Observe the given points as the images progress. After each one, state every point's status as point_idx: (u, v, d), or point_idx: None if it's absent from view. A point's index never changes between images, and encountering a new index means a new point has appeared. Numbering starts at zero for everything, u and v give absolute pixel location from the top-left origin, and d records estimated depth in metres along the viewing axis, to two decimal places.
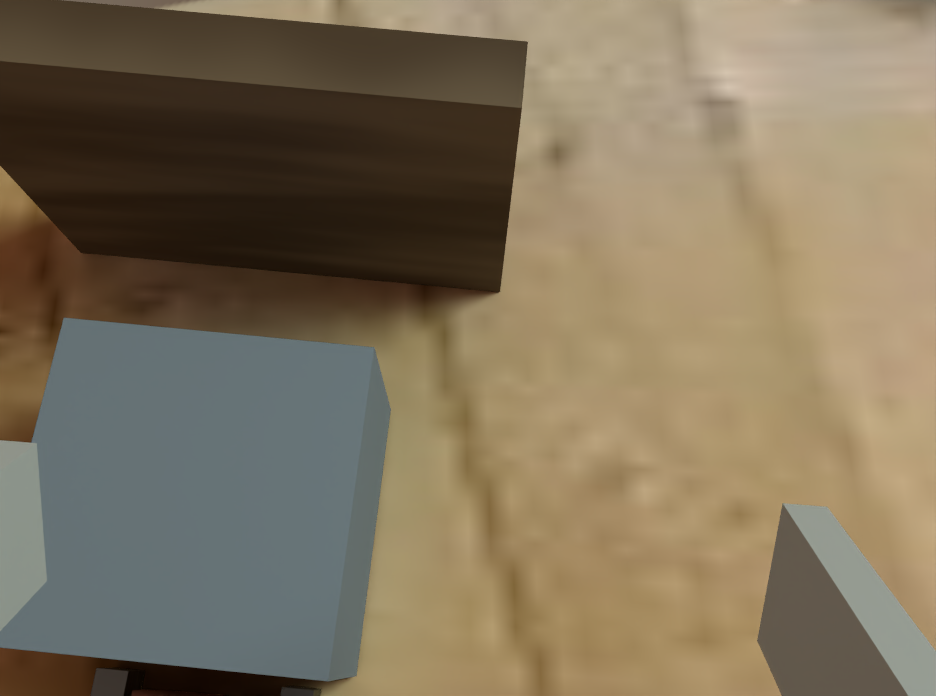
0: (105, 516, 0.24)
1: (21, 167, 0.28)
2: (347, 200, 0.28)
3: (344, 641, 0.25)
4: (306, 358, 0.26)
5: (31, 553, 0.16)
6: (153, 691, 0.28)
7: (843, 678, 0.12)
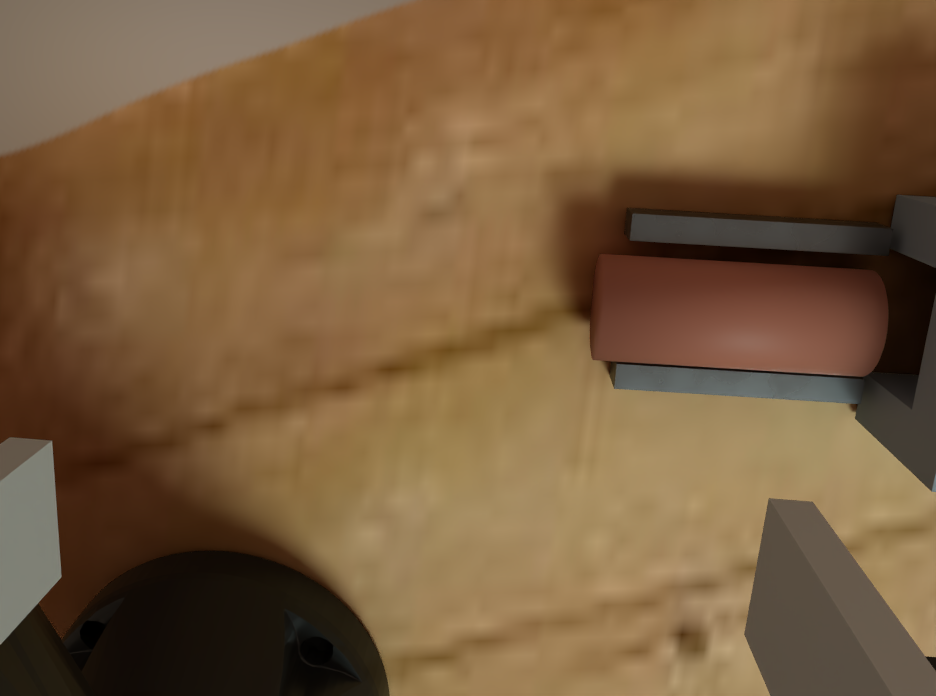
0: None
1: None
2: None
3: None
4: None
5: (46, 549, 0.16)
6: None
7: (825, 670, 0.12)
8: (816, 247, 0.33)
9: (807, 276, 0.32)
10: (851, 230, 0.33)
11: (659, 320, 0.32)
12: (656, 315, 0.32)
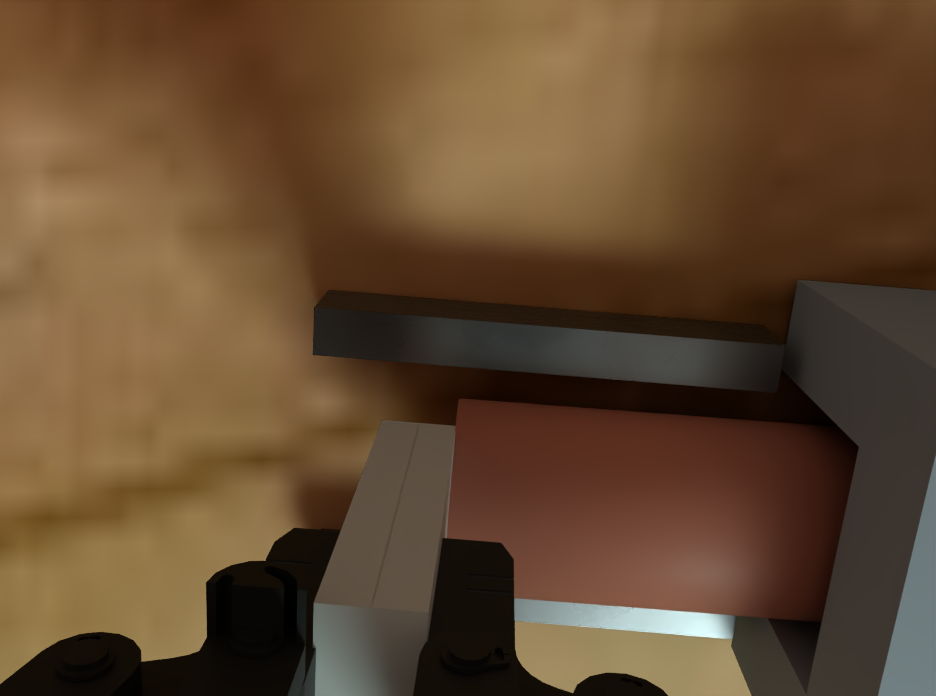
0: None
1: None
2: None
3: None
4: None
5: None
6: None
7: None
8: (647, 375, 0.18)
9: (836, 460, 0.17)
10: (709, 346, 0.18)
11: (554, 545, 0.17)
12: (547, 537, 0.17)
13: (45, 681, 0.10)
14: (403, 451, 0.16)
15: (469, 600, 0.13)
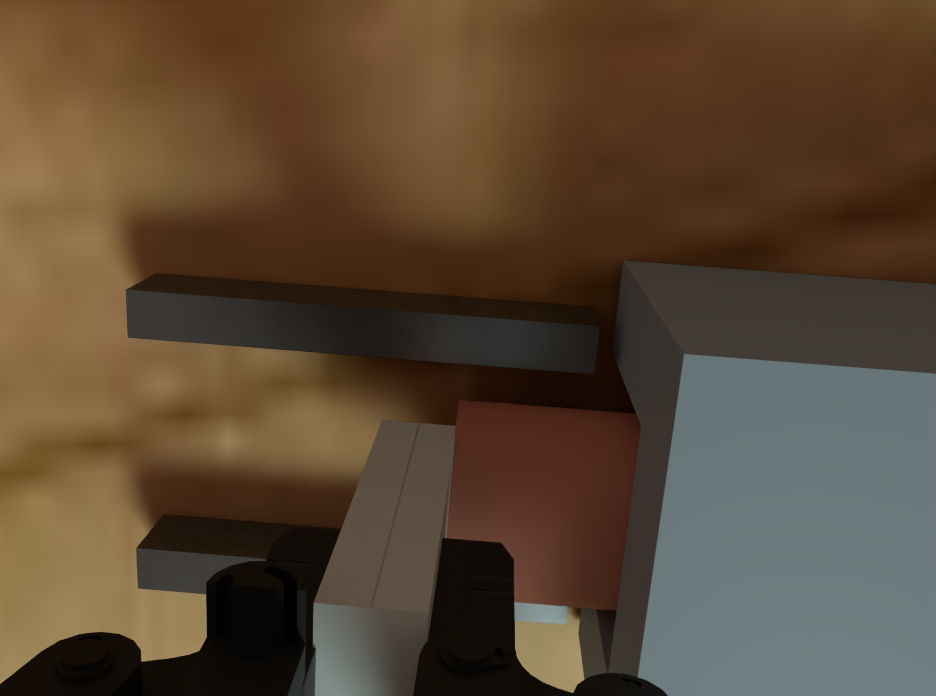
0: (906, 536, 0.13)
1: None
2: None
3: None
4: None
5: None
6: None
7: None
8: (464, 356, 0.18)
9: None
10: (524, 327, 0.18)
11: (554, 548, 0.17)
12: (548, 539, 0.17)
13: (44, 680, 0.10)
14: (403, 451, 0.16)
15: (469, 599, 0.13)
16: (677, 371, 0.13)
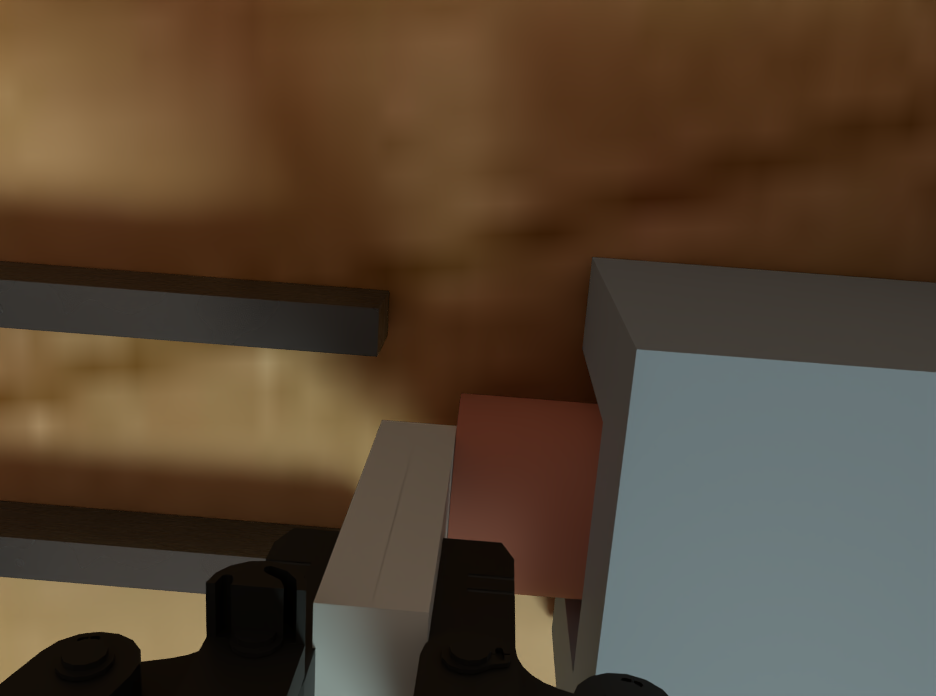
0: (861, 532, 0.13)
1: None
2: None
3: None
4: None
5: None
6: None
7: None
8: (247, 339, 0.18)
9: None
10: (304, 310, 0.18)
11: (556, 537, 0.17)
12: (550, 529, 0.17)
13: (43, 681, 0.10)
14: (403, 452, 0.16)
15: (469, 599, 0.13)
16: (631, 367, 0.13)
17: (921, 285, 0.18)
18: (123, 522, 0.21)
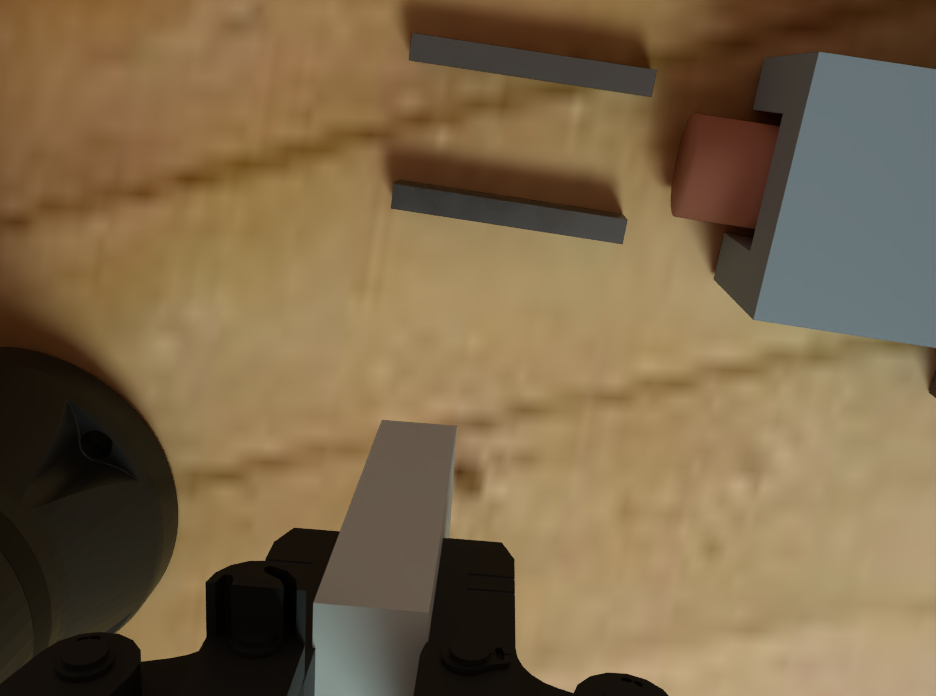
0: (906, 146, 0.29)
1: None
2: None
3: None
4: None
5: None
6: None
7: None
8: (584, 82, 0.35)
9: None
10: (617, 68, 0.34)
11: (750, 165, 0.33)
12: (747, 160, 0.33)
13: (43, 681, 0.10)
14: (403, 451, 0.16)
15: (469, 599, 0.13)
16: (813, 63, 0.29)
17: None
18: (484, 194, 0.37)
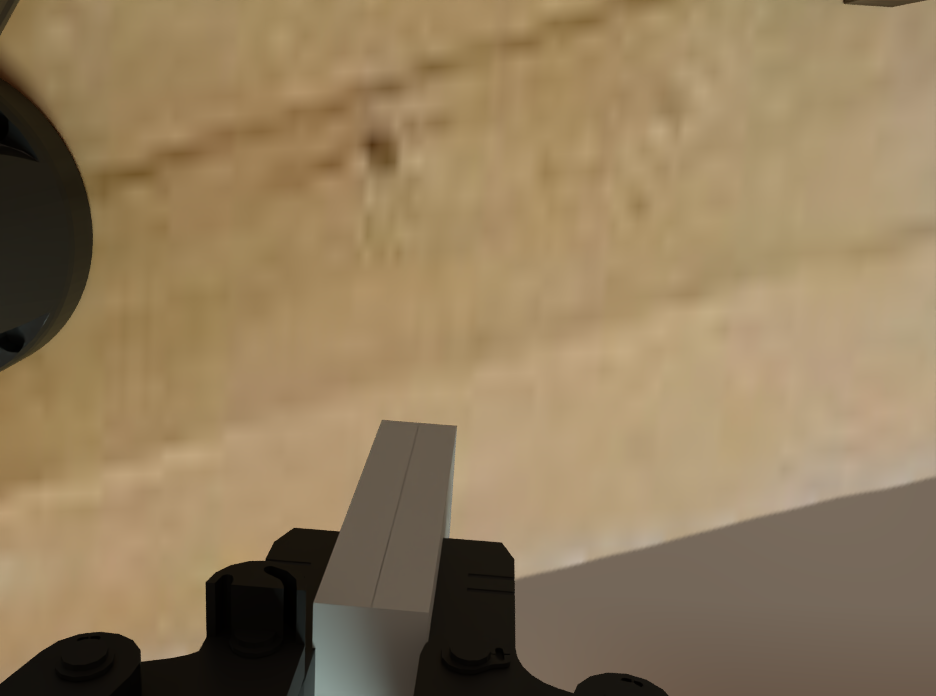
0: None
1: None
2: None
3: None
4: None
5: None
6: None
7: None
8: None
9: None
10: None
11: None
12: None
13: (43, 681, 0.10)
14: (403, 451, 0.16)
15: (469, 599, 0.13)
16: None
17: None
18: None
